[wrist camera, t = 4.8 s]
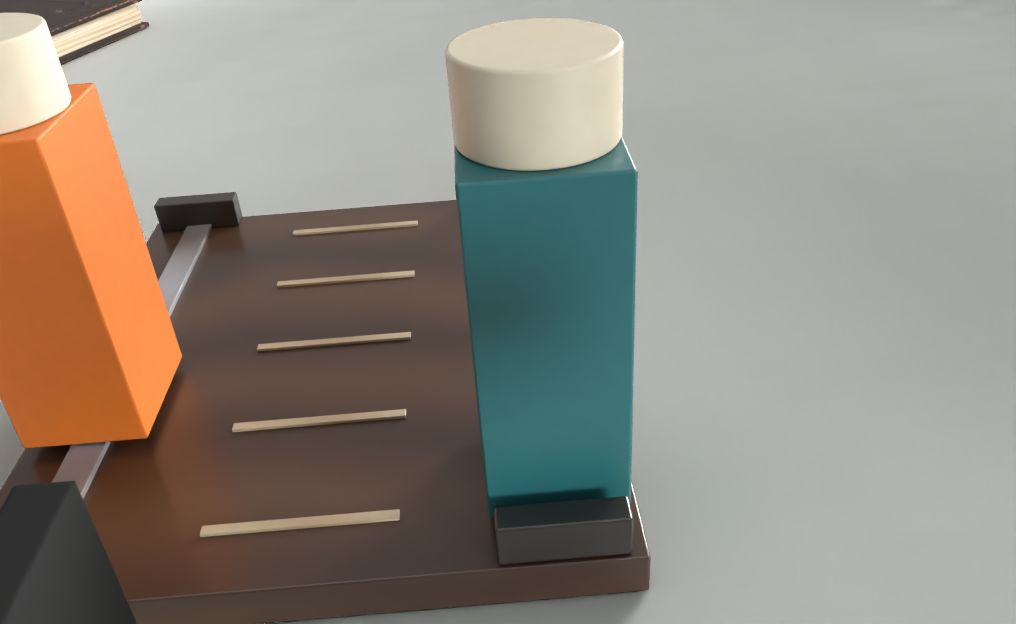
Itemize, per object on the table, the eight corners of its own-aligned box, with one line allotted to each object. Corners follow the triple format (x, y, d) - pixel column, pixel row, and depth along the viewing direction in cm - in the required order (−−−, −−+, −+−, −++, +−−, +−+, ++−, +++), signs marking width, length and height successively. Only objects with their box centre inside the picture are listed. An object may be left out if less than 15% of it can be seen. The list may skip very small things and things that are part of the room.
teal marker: (631, 508, 22) (640, 66, 16) (488, 520, 22) (444, 81, 16) (606, 405, 25) (607, 8, 19) (483, 415, 25) (445, 20, 19)
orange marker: (148, 439, 25) (4, 51, 19) (23, 449, 25) (-160, 64, 19) (183, 356, 29) (70, 4, 23) (73, 365, 28) (-70, 14, 22)
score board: (649, 591, 22) (652, 521, 20) (-57, 651, 21) (-100, 585, 20) (561, 216, 38) (559, 164, 37) (165, 248, 38) (149, 197, 37)
